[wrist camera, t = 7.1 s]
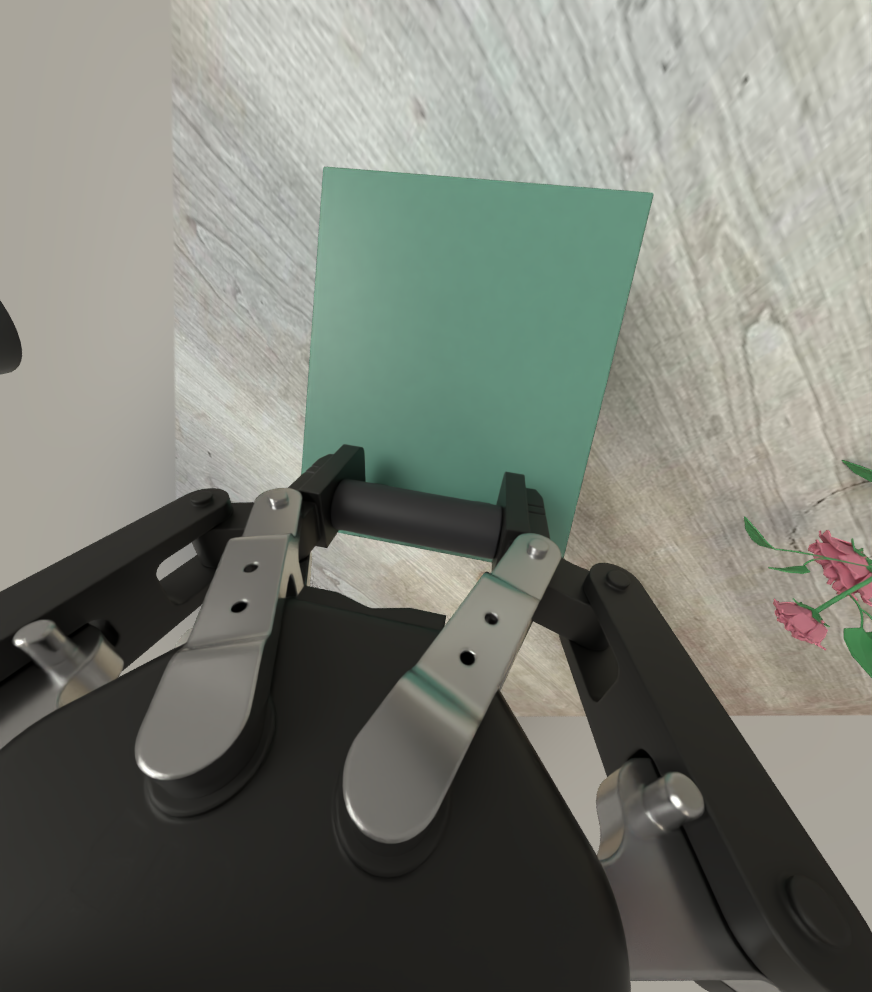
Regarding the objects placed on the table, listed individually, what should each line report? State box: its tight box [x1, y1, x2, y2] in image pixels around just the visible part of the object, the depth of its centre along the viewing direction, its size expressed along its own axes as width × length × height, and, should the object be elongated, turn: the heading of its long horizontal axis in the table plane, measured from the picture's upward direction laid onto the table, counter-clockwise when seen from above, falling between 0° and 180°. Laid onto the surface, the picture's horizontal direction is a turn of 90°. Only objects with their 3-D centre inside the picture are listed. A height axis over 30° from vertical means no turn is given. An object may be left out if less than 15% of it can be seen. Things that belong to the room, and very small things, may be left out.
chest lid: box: [301, 167, 653, 562], centre depth 11 cm, size 14×12×5 cm
